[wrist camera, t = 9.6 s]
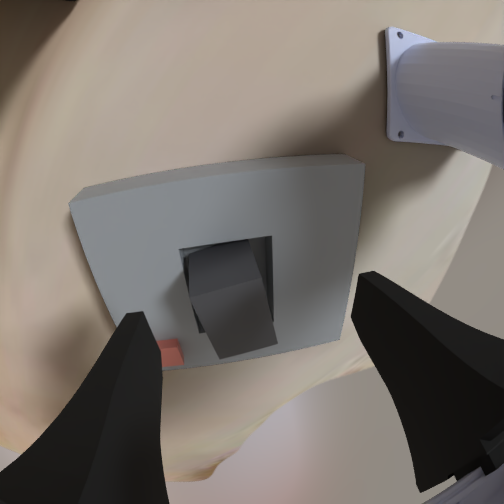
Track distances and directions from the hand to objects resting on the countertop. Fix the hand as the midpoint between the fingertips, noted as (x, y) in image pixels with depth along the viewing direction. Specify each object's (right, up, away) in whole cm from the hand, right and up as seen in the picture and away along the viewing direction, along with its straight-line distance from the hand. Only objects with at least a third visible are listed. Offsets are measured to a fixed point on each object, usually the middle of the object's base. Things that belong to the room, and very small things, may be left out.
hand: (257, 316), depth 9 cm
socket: (-2, +1, +10) cm, 10 cm away
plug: (-2, +1, +10) cm, 10 cm away
